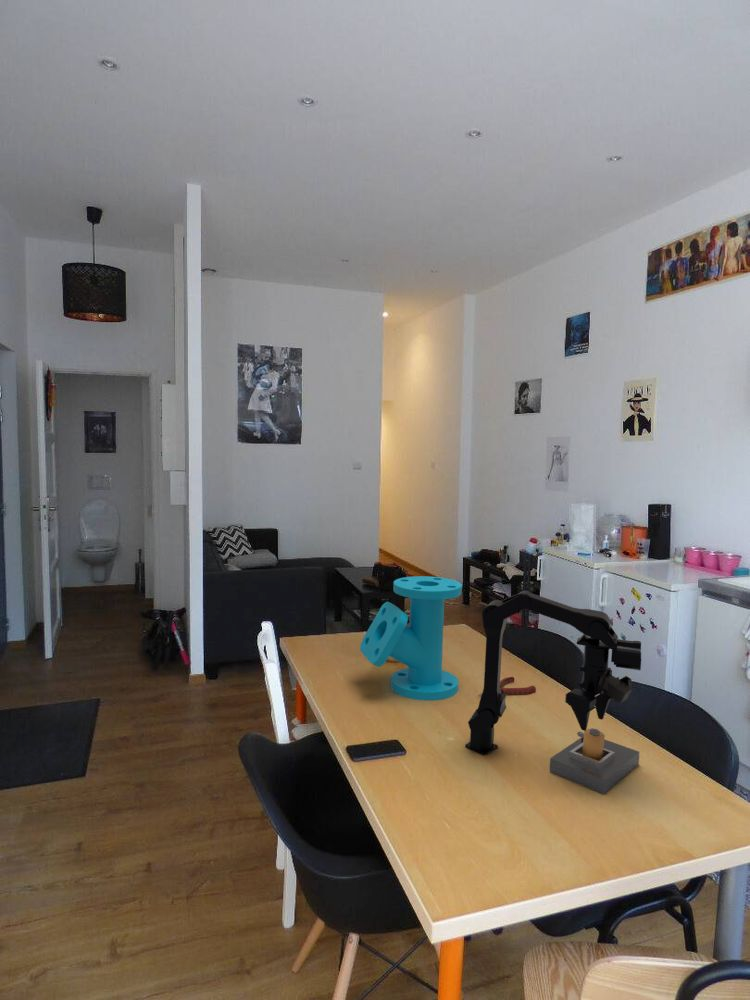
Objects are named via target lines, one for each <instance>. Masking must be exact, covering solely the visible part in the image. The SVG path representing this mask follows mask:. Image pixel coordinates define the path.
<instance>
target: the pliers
mask: <svg viewBox="0 0 750 1000" xmlns="http://www.w3.org/2000/svg"><path fill="white" fill-rule="evenodd" d="M513 683H515V677H514V676H508V677H505V678H503V679H500V690H501V693H502V694H507V695H506V696H527V695H528V696H529V695H531V694H534V693H536V691H537V688H536V686H535V685H529V686H527V687H505V686H506V685H509V684H513ZM482 693H483V692H481V693H480V694H478V697H481V696H482Z"/></svg>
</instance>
